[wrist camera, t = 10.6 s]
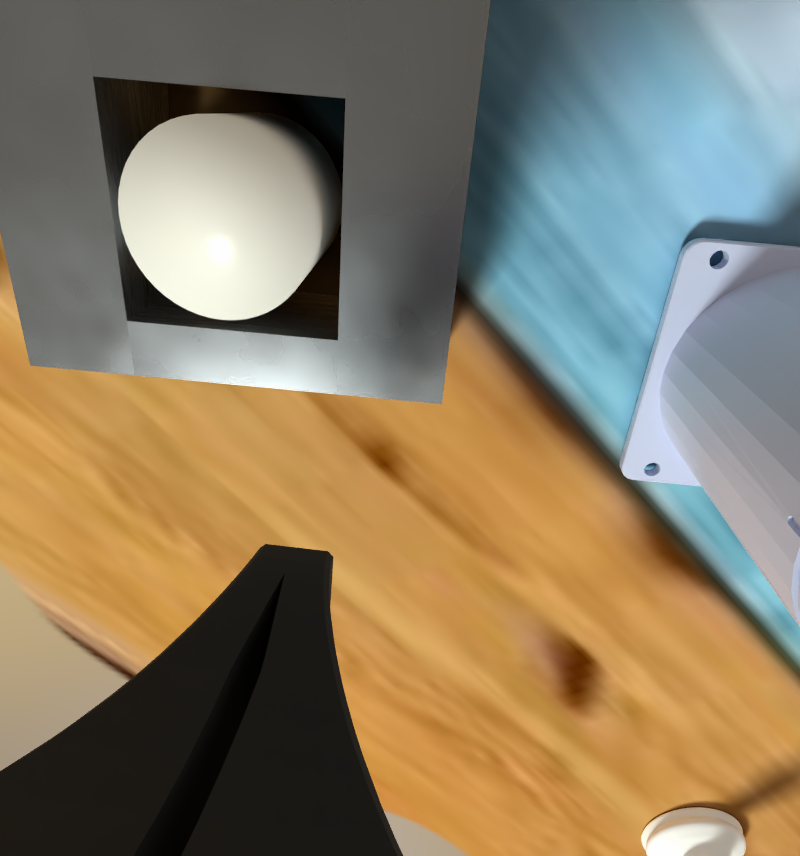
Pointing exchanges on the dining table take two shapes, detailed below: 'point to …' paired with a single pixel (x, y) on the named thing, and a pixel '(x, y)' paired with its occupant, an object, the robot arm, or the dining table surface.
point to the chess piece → (694, 834)
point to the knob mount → (256, 71)
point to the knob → (229, 210)
